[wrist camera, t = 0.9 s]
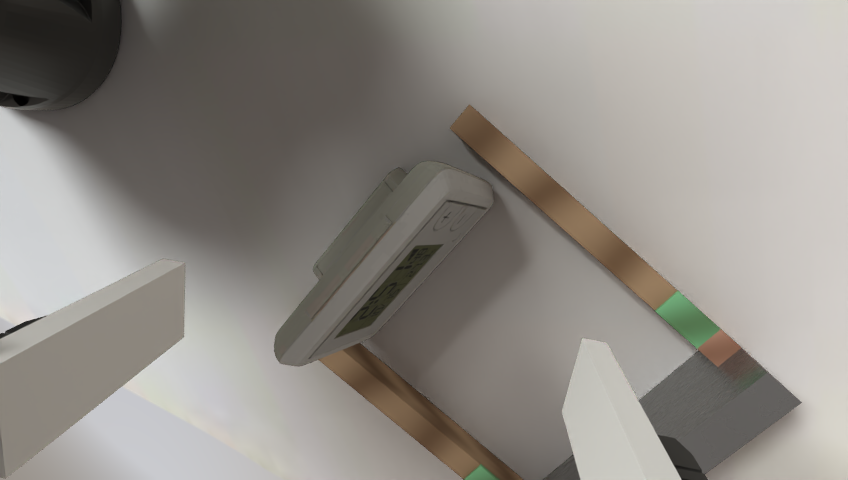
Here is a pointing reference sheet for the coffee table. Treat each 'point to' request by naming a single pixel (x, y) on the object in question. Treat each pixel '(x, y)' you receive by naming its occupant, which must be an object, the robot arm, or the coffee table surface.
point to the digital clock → (383, 258)
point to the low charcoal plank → (710, 408)
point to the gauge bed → (429, 424)
